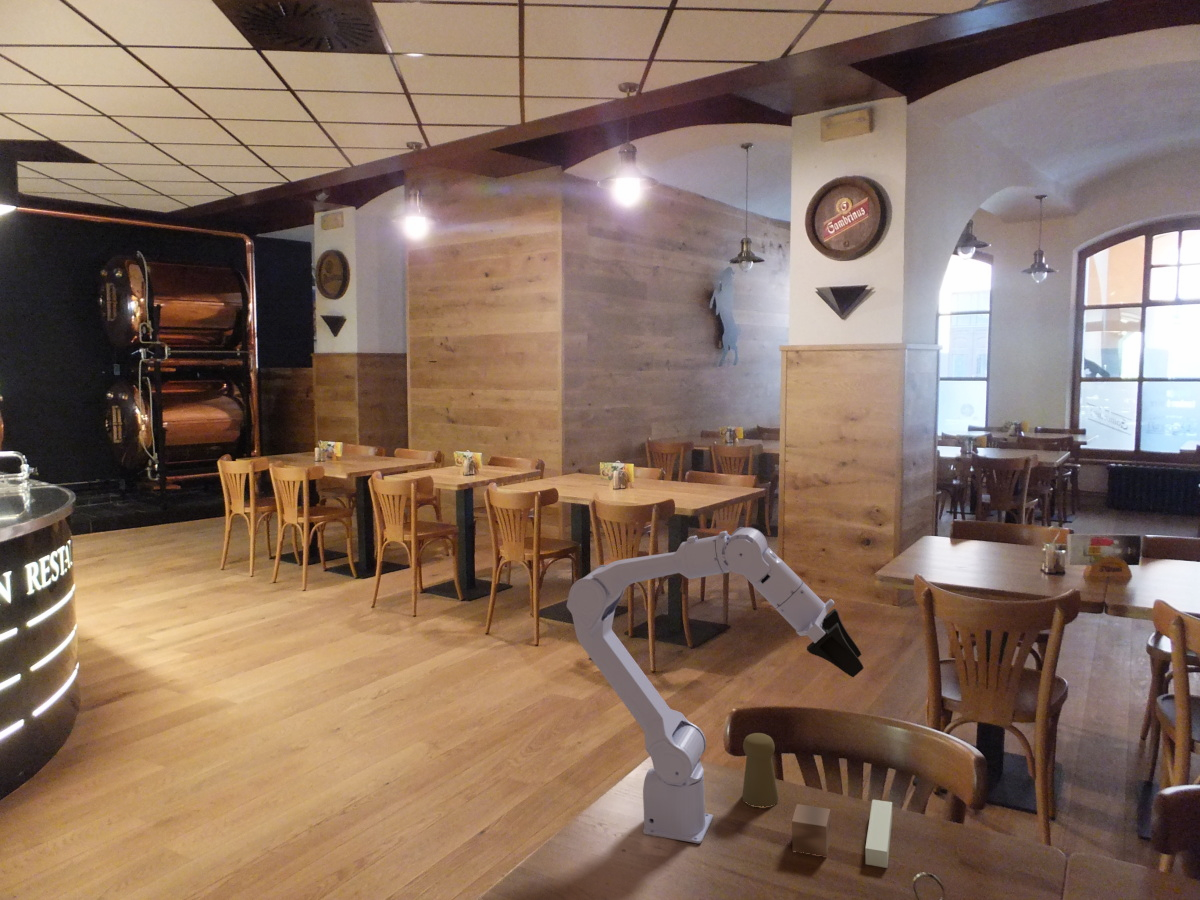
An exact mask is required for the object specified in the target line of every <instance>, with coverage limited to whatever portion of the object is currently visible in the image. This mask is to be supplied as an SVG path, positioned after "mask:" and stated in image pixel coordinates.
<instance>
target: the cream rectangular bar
mask: <svg viewBox="0 0 1200 900" xmlns="http://www.w3.org/2000/svg"><path fill="white" fill-rule="evenodd" d="M870 806H871V807H870V813H869V814H870V815H869V822H868V829H867V834H866V840H865V841H866V843H865V851H864V852H865V854H864V855H865V865H868V866H874V867H879V868H885V869H888V867H889V866H888V864H889V855H890V844H891V834H892V825H893V802H892V801H885V800H879V799H872V800H871V805H870Z"/></svg>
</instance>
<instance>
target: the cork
mask: <svg viewBox="0 0 1200 900" xmlns="http://www.w3.org/2000/svg"><path fill="white" fill-rule="evenodd" d="M775 747H776V745H775V742H774V740H773V738H772V737H771V736H770V735H767V733H762V732H753V733H750V734H747V735H746V736H745V738H744V740H743V744H742V748H743V752H744V755H746V759H745V760H746V761H745V768H744V775H743V776H744V777H743V787H742V794H741V796H742V797H743V799H742V801H743V800H744V801H745V802H747V803H748V804H750V805H754V806H761V807H762V806H764V807H766V806H771V805H774V804H776V803H777V801H778V799H779V794H778V793H779V792H778V788H777V781H776V776H775V770H774V768H775V767H774V763H773V759H772V758H773V756H774V754H775V751H776V749H775ZM744 801H743V802H744ZM778 802H779V801H778ZM777 804H778V803H777ZM777 804H776V805H777Z"/></svg>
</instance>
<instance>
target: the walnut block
mask: <svg viewBox="0 0 1200 900" xmlns="http://www.w3.org/2000/svg"><path fill="white" fill-rule="evenodd" d="M831 826H832V825H831V808H825V807H818V806H812V805H806V804H799V803H796V806H795V810H794V812H793V816H792V820H791V837H792V838H791V843H792V846H791V847H792V852H793V851H796V852H802V853H803V852H804V853H810V854H816V855H822V856H827V857H828V855H827V853H828V854H829V850H828V848H829V849H830V845H829V844H831V841H830V839H832V837H831V836H832V835H831V834H832V832H831V829H832V827H831ZM796 852H795V853H796ZM802 853H801V854H802Z"/></svg>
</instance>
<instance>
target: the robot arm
mask: <svg viewBox="0 0 1200 900" xmlns="http://www.w3.org/2000/svg"><path fill="white" fill-rule="evenodd" d="M730 572H732V573H734V574H737V575H742V576H744V577H745V578H746V579H747V581H748V582H750V584H751V585H752V587H754V588H755V589H756V591H757V592H759V594H761V596H762V597H763V598H764V599H766V601H767V602H768V603H769V604H770V605H771V606H772V607H773V608H774V609H775V610H776V612H778V613H779V614H780V615H781V616H782V618H783V619H784V620H786V622H787V623H788V624H790V626H791V627H792V628H793V629H794V630H795V633H796V634H797V635H798V636H799V637H804V636H807V637H808V638H809V639H810V640H811V643H809V645H807V646H806V651H807V652H808V653H810V654H811V655H813V656H817V657H819V658H821V659H823V660H826V661H827V662H829V663H831V664H832V665H834V666H835V667H837V668H838V669H839V670H841V671H842V672H844V673H845V674H847V675H848V676H849V677H852V678H855V677H856V676H857V675H858V674H859V673H860V672H861V671H862V670H864V665H863V664H862V662H861V660H860V658H859V657H861V656H862V652H861V650H860V649H859V647H858V645H857V644H856V643H855V642H854V640H853V638H852V637H851V636H850V634H849V633H848V631H847V630H846V627H845V626H844V624H843V622H842V620H841V618H840V614H839V612H838V610H837V608H833V609H832V610H830V609H831V608H832V607H833V606H834V605H835V601H834V600H833V599H832V598H830V599H828V600H827V601H826V602H824V601H823V600H822V599H821V597H819V596H818V595H817V594H816V593H815V592H814V591H813V589H811V588H810V587H809V586H808V585H807V584H806V583H805V582H804V580H803V579H801V578H800V577H799V576H798V574H796V573H795V572H794V570H793V569H791V568H790V566H789V565H787V564H786V562H785V561H784V560H783V559H782V558H780V557H779V555H777V554H776V553H775V552H774V551H773V550H772V549H771V548H770V547H768V541H767V538H766V537H765V535H764V534H763V533H762V531H760V530H759V529H757V528H754V527H749V526H748V527H747V526H746V527H743V526H740V527H738V528H736V529H735V530H734V531H733V532H732V533H731V535H730V534H729V532H728V530H724V531H720V532H719V533H718V535H714V536H708V537H702V538H698V536H697V535H691V536H689V537H687V538H686V541H682V542H681V543H680V545H679V547H678V548H677V550H676V551H673V552H665V553H659V554H651V555H645V556H638V557H637V556H636V557H631V558H624V559H620V560H614V561H612V562H609V563H608V564H601V565H598V566H596V567H595V568H594V569H593V570H592V571H591V572H589V573H588V574H587V575H585V576H584V577H582V578H580V579H577V580H576V581H575V582H574V583H572V585H571V587H570V590H569V593H568V596H567V597H568V598H567V600H566V601H567V602H566V608H567V610H568V611H569V612H570V613H571V616H572V621H573V625H574V626H573V627H574V630H575V636H576V639H577V640H578V642H579V644H580V645H581V647H582V649H583V650H584V651H585V652H586V653H587V655H588V657H589V658H590V659H591V661H592V662H593V663H594V665H595V666H596V668H597V669H598V671H599V672H600V673H601V674H602V676H603V677H604V678H605V680H606V681H607V683H608V684H609V685H610V686H611V688H612V689H613V691H614V692H615V693H616V695H617V696H618V697H619V699H620V700H621V701H622V703H623V704H624V706H625V707H626V709H627V710H628V711H629V713H630V714H631V715H632V717H633V718H634V719H635V722H637V723H638V725H639V727H640V728H641V729H642V731H643V736H644V737H643V738H644V747H645V751H646V752H647V754H648V755H649V756H650V759H651V761H652V767H653V768H651V767H650V768H649V769H648V770H647V772H646V774H645V777H644V782H643V789H642V790H643V791H642V800H643V801H642V802H643V822H644V824H643V825H644V828H643V830H642V832H643V834H644V835H647V836H655V837H659V838H665V839H669V840H670V839H672V840H675V841H676V840H677V841H683V842H688V843H695V844H701V843H703V840H704V838H705V836H706V834H707V832H708V830H709V828H710V826H711V824H712V823H711V822H712V821H713V819H714V815H713V814H711V813H706V802H705V799H706V798H705V797H706V796H705V776H704V775H705V773H704V772H705V770H704V767H703V765H702V763H701V762H702V761H701V757H702V755H704V753H705V751H706V749H707V739H706V735H705V734H704V733H705V732H704V731H702V729H701V728H700V727H699V726H697V725H696V724H694V723H692V722H691V721H689V720H688V719H687V718H686V717H685V715H684V714H683V713H682V712H680V711H678V710H674V709H672V708H670V707H669V705H668V704H667V702H666V701H665V699H664V698H663V697H662V696H661V695H660V693H659V691H658V690H657V689H656V688H655V686H654V685H653V683H652V682H651V680H649V678H648V676H646V674H645V673H644V671H643V670H642V669H641V667H640V666H639V664H638V663H637V662H636V661H635V659H634V658H633V656H632V655H631V654H630V652H629V651H628V649H627V648H626V647H625V646H624V644H623V643H622V642H621V640H620V639H619V637H618V636H617V635H616V633H615V632H614V631H613V628H612V627H613V623H614V617H615V612H616V608H617V607H618V604H619V603H620V602H621V599H622V598H623V595H624V593H625V589H627V588H629V586H631V585H632V584H634V583H639V582H643V581H647V580H648V581H649V580H652V579H657V578H662V577H666V576H670V575H675V574H680V575H682V576H684V577H685V578H687V579H689V580H692V579H698V578H699V579H700V578H705V577H710V576H711V577H712V576H717V575H723V574H728V573H730Z"/></svg>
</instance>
